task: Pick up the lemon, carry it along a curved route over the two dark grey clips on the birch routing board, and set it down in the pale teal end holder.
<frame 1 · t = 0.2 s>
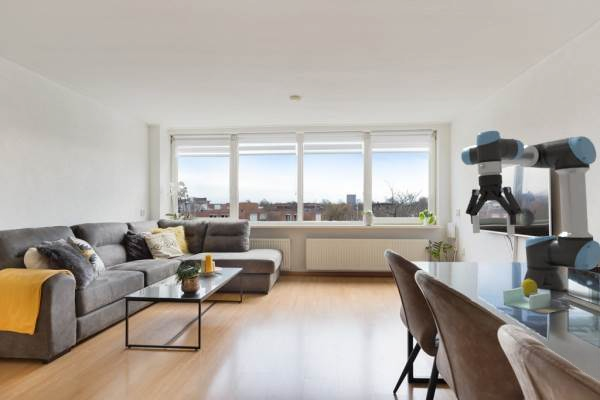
hand: (492, 233, 127), 28 cm above the table, fingers open, 13 cm apart
clip b: (560, 307, 124), resting on routing board
clip a: (540, 302, 132), resting on routing board
end holder: (526, 305, 128), resting on routing board
routing board: (539, 308, 127), on the table
lemon: (529, 299, 142), on the table
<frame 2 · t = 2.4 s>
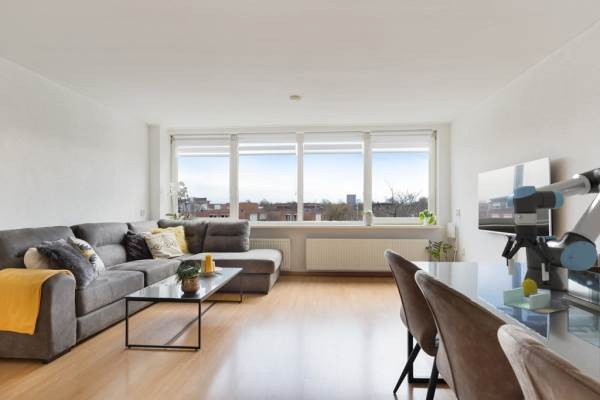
hand: (527, 277, 142), 8 cm above the table, fingers open, 13 cm apart
nothing on the table moved.
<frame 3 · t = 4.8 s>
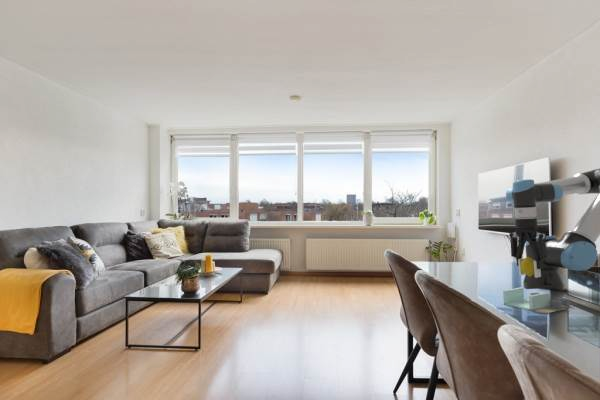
hand: (529, 275, 142), 9 cm above the table, fingers closed on lemon, 5 cm apart
lemon: (529, 277, 142), point 8 cm above the table, touching gripper
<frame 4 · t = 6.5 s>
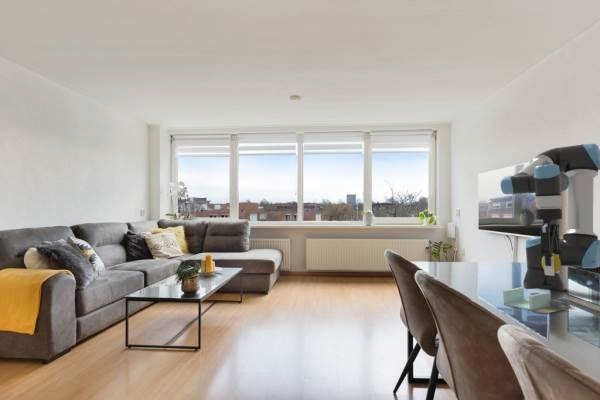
hand: (552, 273, 125), 13 cm above the table, fingers closed on lemon, 5 cm apart
lemon: (551, 275, 125), point 12 cm above the table, touching gripper
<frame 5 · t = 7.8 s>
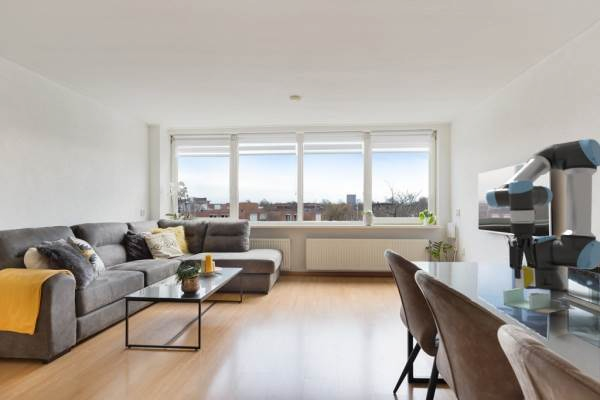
hand: (525, 286, 128), 8 cm above the table, fingers closed on lemon, 5 cm apart
lemon: (524, 287, 128), point 7 cm above the table, touching gripper
when the fingers open (3 cm above the table, at t = 8.7 s): lemon drops 1 cm, resting on end holder.
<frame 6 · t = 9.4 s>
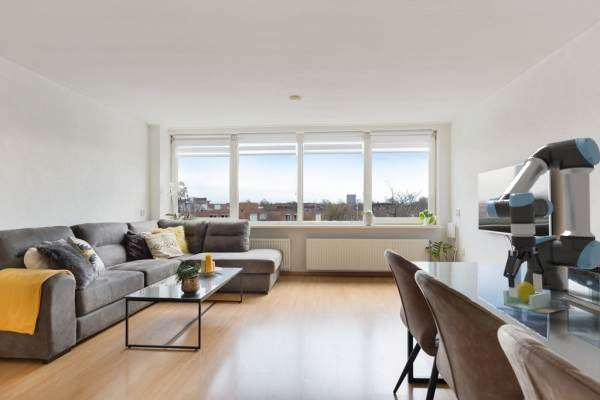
hand: (526, 294, 128), 5 cm above the table, fingers open, 13 cm apart
lemon: (526, 304, 128), point 2 cm above the table, touching end holder
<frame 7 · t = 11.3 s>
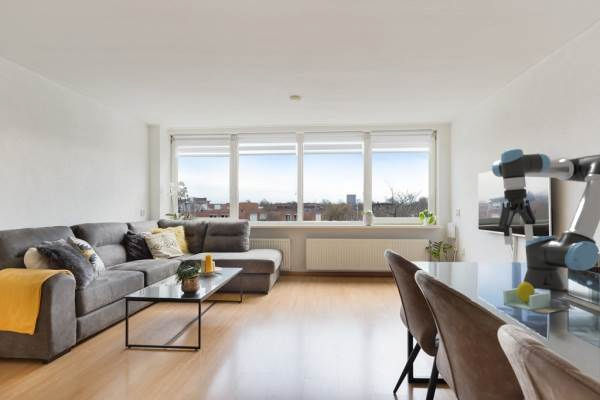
hand: (519, 242, 140), 23 cm above the table, fingers open, 13 cm apart
nothing on the table moved.
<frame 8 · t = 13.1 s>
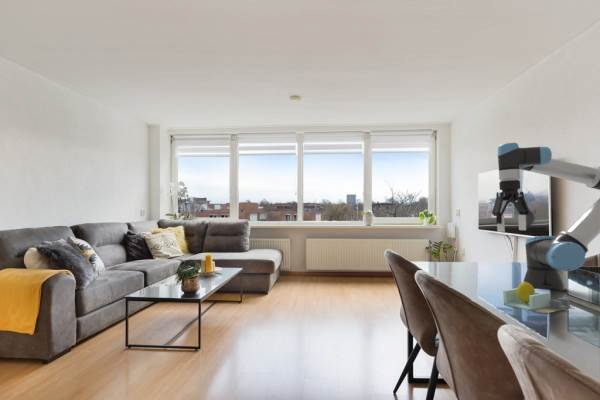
hand: (512, 231, 148), 27 cm above the table, fingers open, 13 cm apart
nothing on the table moved.
at the end: lemon inside the target area on the end holder (0.3 cm from its centre), point 0.4 cm above the end holder's base; the gripper is holding nothing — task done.
